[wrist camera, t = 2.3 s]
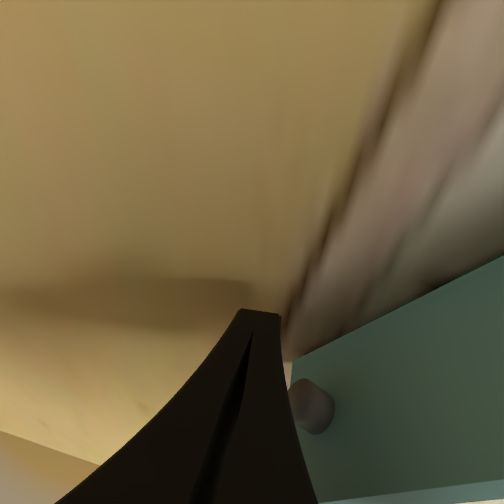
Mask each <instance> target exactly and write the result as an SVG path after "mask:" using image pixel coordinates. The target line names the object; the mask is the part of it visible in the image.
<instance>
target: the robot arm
mask: <svg viewBox="0 0 504 504" xmlns="http://www.w3.org/2000/svg"><path fill="white" fill-rule="evenodd" d="M280 328H281V316H280V315H279V314H276V313H269V312H262V311H256V310H249V309H242V308H241V309H240V310H238V312H237V313H236V315H235V317H234V319H233V320H232V322H231V323H230V325H229V327H228V328H227V330H226V331H225V333H224V334H223V335H222V337H221V338H220V340H219V341H218V343H217V344H216V345H215V347H214V348H213V349H212V351H211V352H210V353H209V355H208V356H207V357H206V359H205V360H204V361H203V362H202V364H201V365H200V366H199V367H198V369H197V370H196V371H195V372H194V373H193V375H192V376H191V377H190V378H189V379H188V381H187V382H186V383H185V384H184V385H183V386H182V388H181V389H180V390H179V391H178V392H177V393H176V394H175V395H174V396H173V398H172V399H171V400H170V401H169V402H168V403H167V404H166V405H165V406H164V407H163V408H162V409H161V410H160V411H159V412H158V413H157V414H156V415H155V416H154V417H153V418H152V419H151V420H150V421H149V422H148V423H147V424H146V425H145V426H144V427H143V428H142V429H141V430H140V431H139V432H138V433H137V434H136V435H135V436H134V437H133V438H132V439H130V440H129V441H128V442H127V443H126V444H125V445H124V446H123V447H122V448H121V449H120V450H118V451H117V452H116V453H115V454H114V455H113V456H112V457H110V458H109V459H108V460H107V461H106V462H105V463H103V464H102V465H101V466H100V467H99V468H98V469H96V470H95V471H94V472H93V473H92V474H91V475H89V476H88V477H87V478H86V479H85V480H84V481H82V482H81V483H80V484H79V485H77V486H76V487H75V488H74V489H73V490H71V491H70V492H69V493H68V494H66V495H65V496H64V497H62V498H61V499H60V500H58V501H57V502H56V503H55V504H318V501H317V498H316V495H315V492H314V489H313V486H312V483H311V480H310V476H309V473H308V470H307V466H306V463H305V460H304V456H303V453H302V449H301V446H300V442H299V438H298V435H297V431H296V427H295V423H294V419H293V415H292V410H291V406H290V401H289V397H288V392H287V386H286V381H285V375H284V368H283V362H282V354H281V342H280Z"/></svg>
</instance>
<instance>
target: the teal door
mask: <svg viewBox="0 0 504 504" xmlns="http://www.w3.org/2000/svg"><path fill="white" fill-rule="evenodd" d="M287 392H288V397H289V401H290V406H291V410H292V415H293V419H294V423H295V427H296V431H297V435H298V438H299V442H300V446H301V449H302V453H303V456H304V460H305V463H306V466H307V470H308V473H309V476H310V480H311V483H312V486H313V489H314V492H315V495H316V498H317V501H318V504H455V503H466V502H476V501H486V500H497V499H504V255H503V256H501V257H499V258H497V259H495V260H493V261H491V262H489V263H487V264H485V265H483V266H481V267H479V268H477V269H475V270H473V271H471V272H469V273H467V274H465V275H463V276H461V277H459V278H457V279H455V280H453V281H451V282H449V283H447V284H445V285H443V286H441V287H439V288H438V289H436V290H434V291H432V292H430V293H428V294H426V295H424V296H422V297H420V298H418V299H416V300H414V301H412V302H410V303H408V304H406V305H404V306H402V307H400V308H398V309H396V310H394V311H392V312H390V313H388V314H386V315H384V316H382V317H380V318H378V319H376V320H374V321H372V322H370V323H368V324H366V325H364V326H362V327H360V328H358V329H356V330H354V331H352V332H350V333H348V334H346V335H344V336H342V337H340V338H338V339H336V340H334V341H332V342H330V343H328V344H326V345H324V346H322V347H320V348H318V349H316V350H314V351H312V352H310V353H308V354H306V355H304V356H302V357H300V358H298V359H296V360H294V361H293V365H292V374H291V384H290V388H289V390H288V391H287Z"/></svg>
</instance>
